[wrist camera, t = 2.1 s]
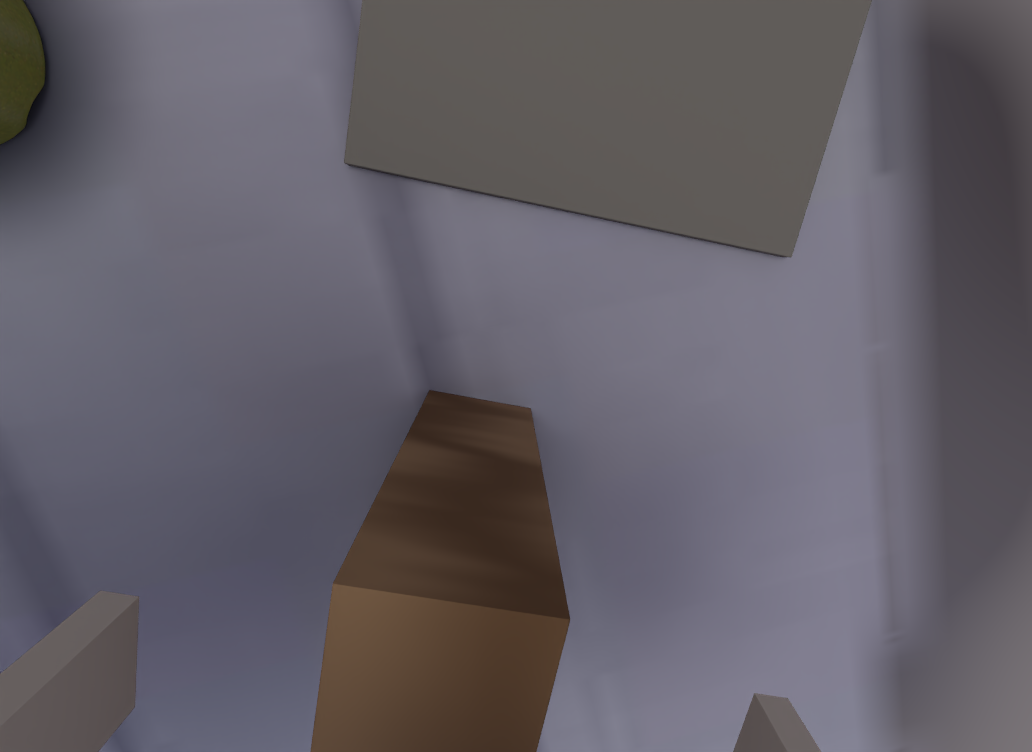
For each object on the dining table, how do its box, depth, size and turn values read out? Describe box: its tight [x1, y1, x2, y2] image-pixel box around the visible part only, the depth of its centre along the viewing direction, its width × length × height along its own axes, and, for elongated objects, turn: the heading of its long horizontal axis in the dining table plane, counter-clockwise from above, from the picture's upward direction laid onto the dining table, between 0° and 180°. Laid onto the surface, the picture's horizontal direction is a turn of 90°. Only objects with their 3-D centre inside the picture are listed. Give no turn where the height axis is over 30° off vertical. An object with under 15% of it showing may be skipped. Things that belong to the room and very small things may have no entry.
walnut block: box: [311, 390, 570, 752], centre depth 15 cm, size 4×7×12 cm, turn 169°
